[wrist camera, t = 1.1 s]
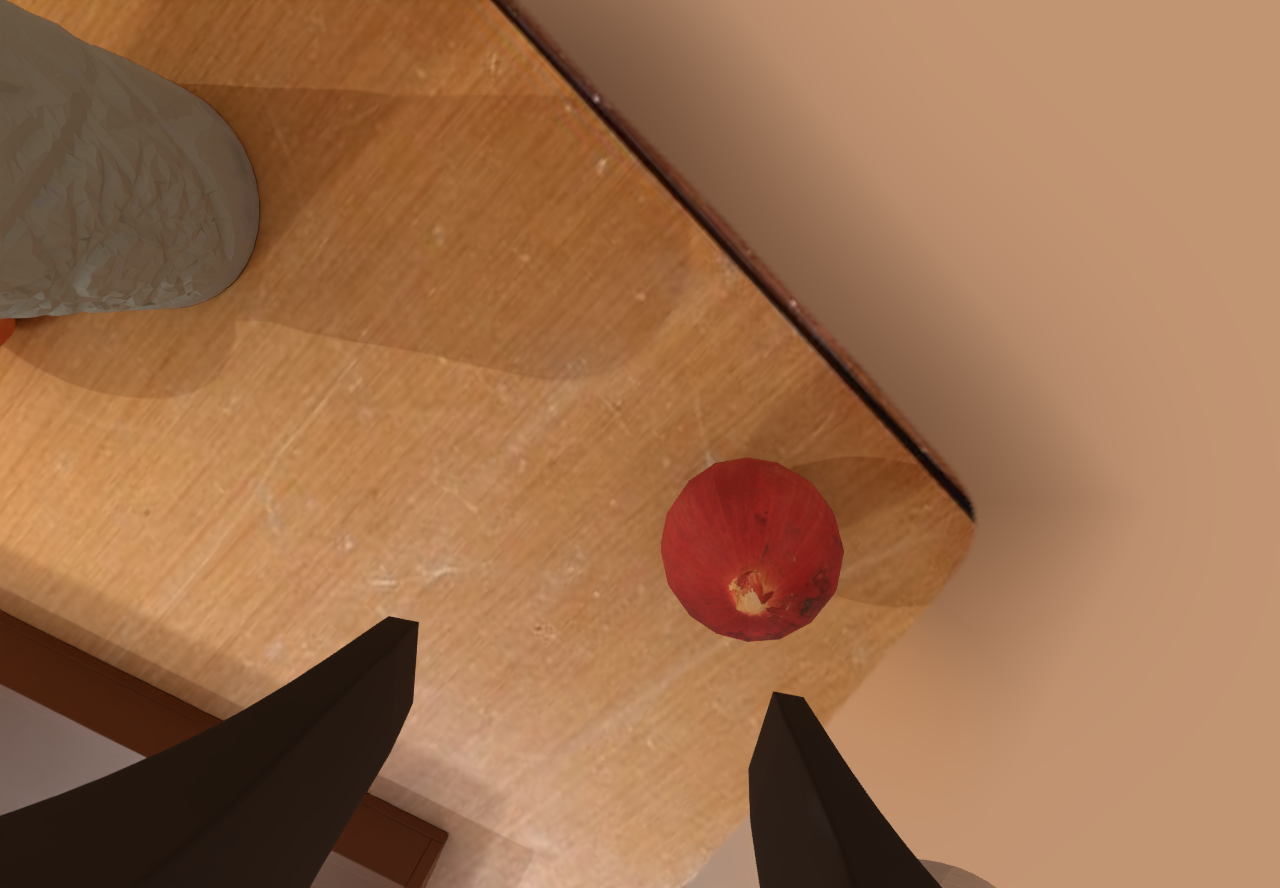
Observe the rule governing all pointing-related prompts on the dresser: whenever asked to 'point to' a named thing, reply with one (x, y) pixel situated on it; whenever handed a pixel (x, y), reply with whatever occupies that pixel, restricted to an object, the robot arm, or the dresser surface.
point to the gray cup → (111, 181)
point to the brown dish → (155, 752)
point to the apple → (6, 328)
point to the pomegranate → (751, 550)
